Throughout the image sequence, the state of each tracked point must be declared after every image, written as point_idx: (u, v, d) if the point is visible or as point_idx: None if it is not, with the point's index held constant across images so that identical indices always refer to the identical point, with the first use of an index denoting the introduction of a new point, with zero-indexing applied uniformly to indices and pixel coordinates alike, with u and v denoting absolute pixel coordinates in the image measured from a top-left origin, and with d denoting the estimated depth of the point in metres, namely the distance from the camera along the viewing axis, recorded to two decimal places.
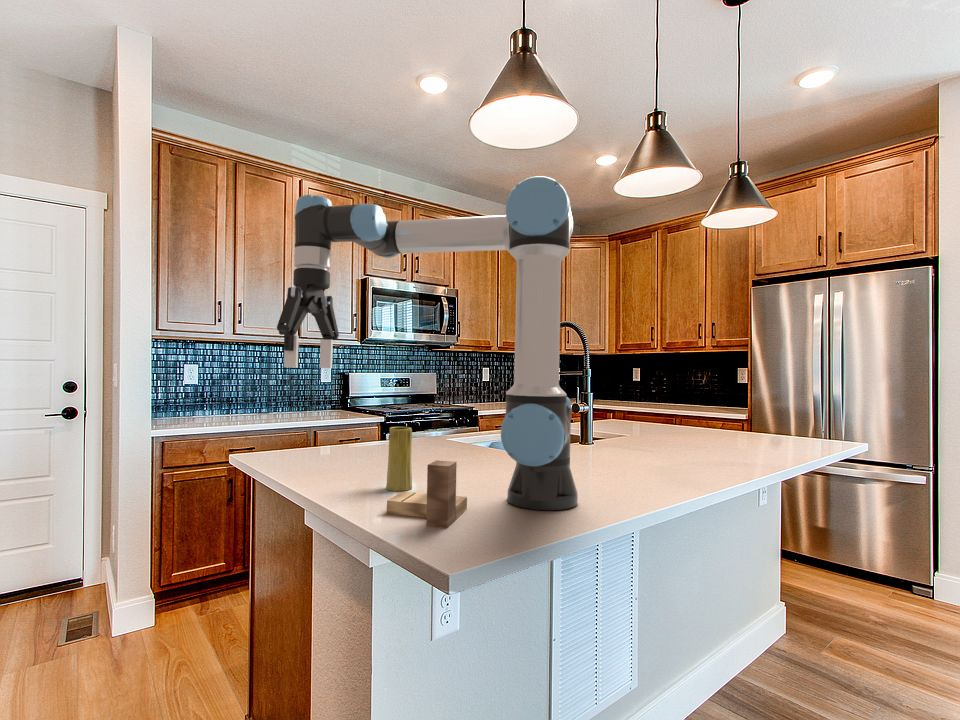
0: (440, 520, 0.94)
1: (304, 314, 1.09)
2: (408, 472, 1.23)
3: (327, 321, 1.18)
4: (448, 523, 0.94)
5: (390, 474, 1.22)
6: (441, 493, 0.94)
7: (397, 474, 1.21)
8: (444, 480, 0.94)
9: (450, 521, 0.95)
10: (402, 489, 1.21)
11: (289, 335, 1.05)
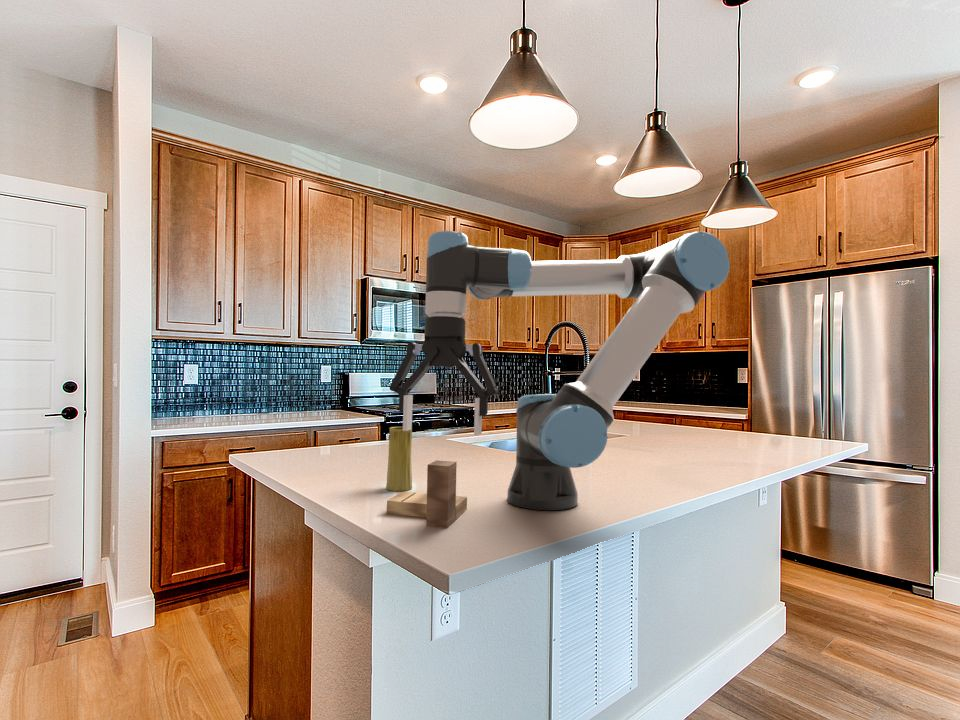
0: (440, 520, 0.94)
1: (419, 371, 0.97)
2: (408, 472, 1.23)
3: (467, 375, 0.95)
4: (448, 523, 0.94)
5: (390, 474, 1.22)
6: (441, 493, 0.94)
7: (397, 474, 1.21)
8: (444, 480, 0.94)
9: (450, 521, 0.95)
10: (402, 489, 1.21)
11: None
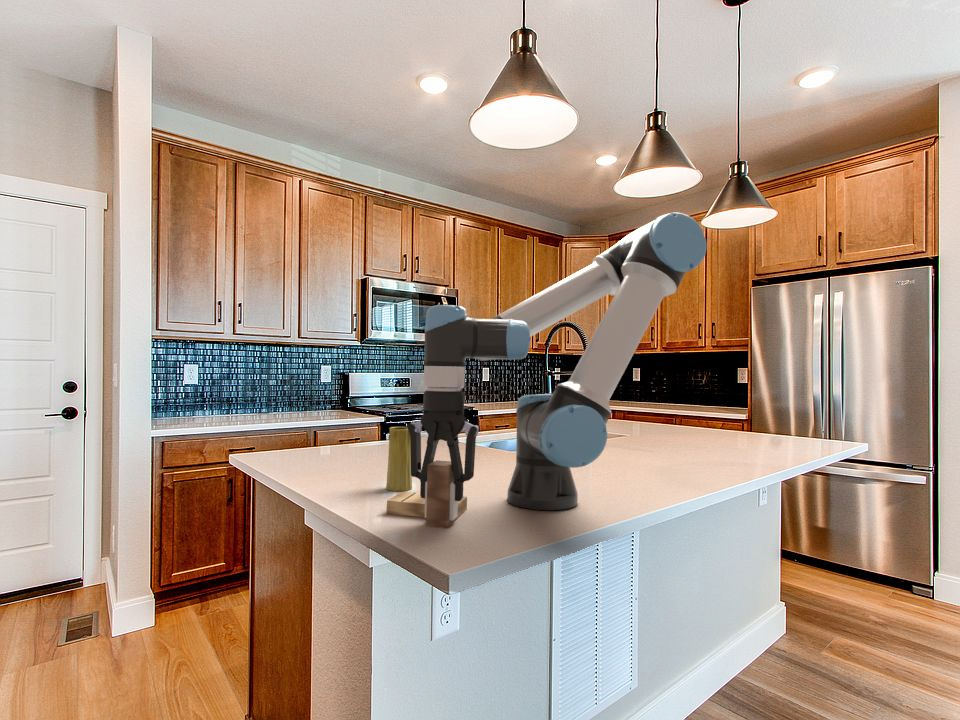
0: (440, 520, 0.94)
1: (429, 450, 0.96)
2: (408, 472, 1.23)
3: (453, 456, 0.95)
4: (448, 523, 0.94)
5: (390, 474, 1.22)
6: (441, 493, 0.94)
7: (397, 474, 1.21)
8: (444, 480, 0.94)
9: (450, 521, 0.95)
10: (402, 489, 1.21)
11: None
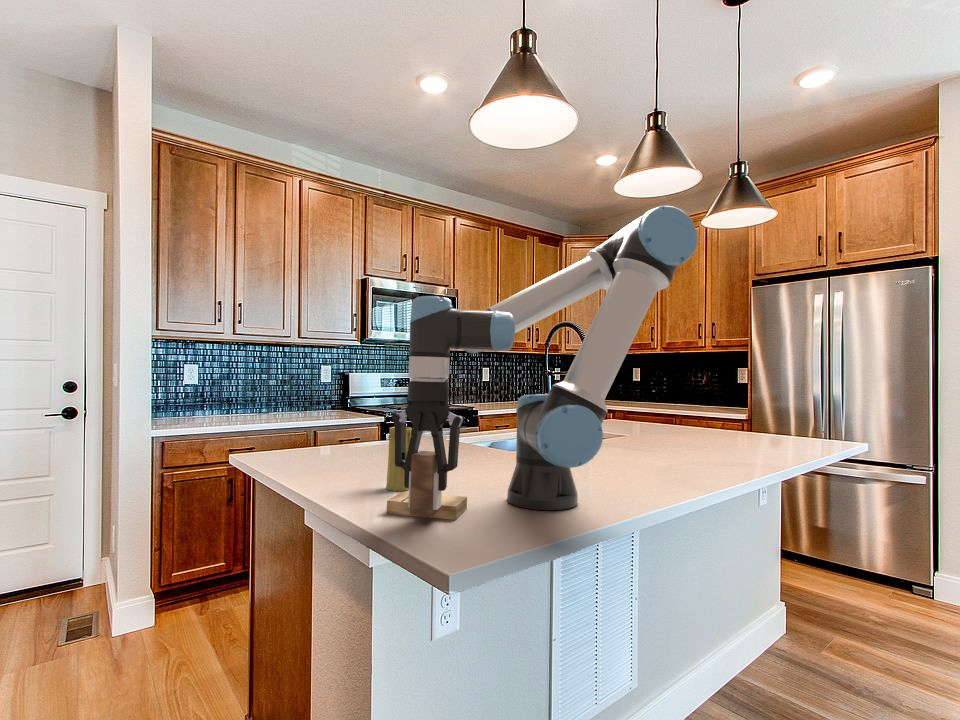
0: (423, 510, 0.95)
1: (413, 440, 0.97)
2: None
3: (436, 446, 0.96)
4: (432, 513, 0.95)
5: (390, 474, 1.22)
6: (425, 483, 0.95)
7: (397, 474, 1.21)
8: (427, 470, 0.95)
9: (433, 511, 0.96)
10: (402, 489, 1.21)
11: None
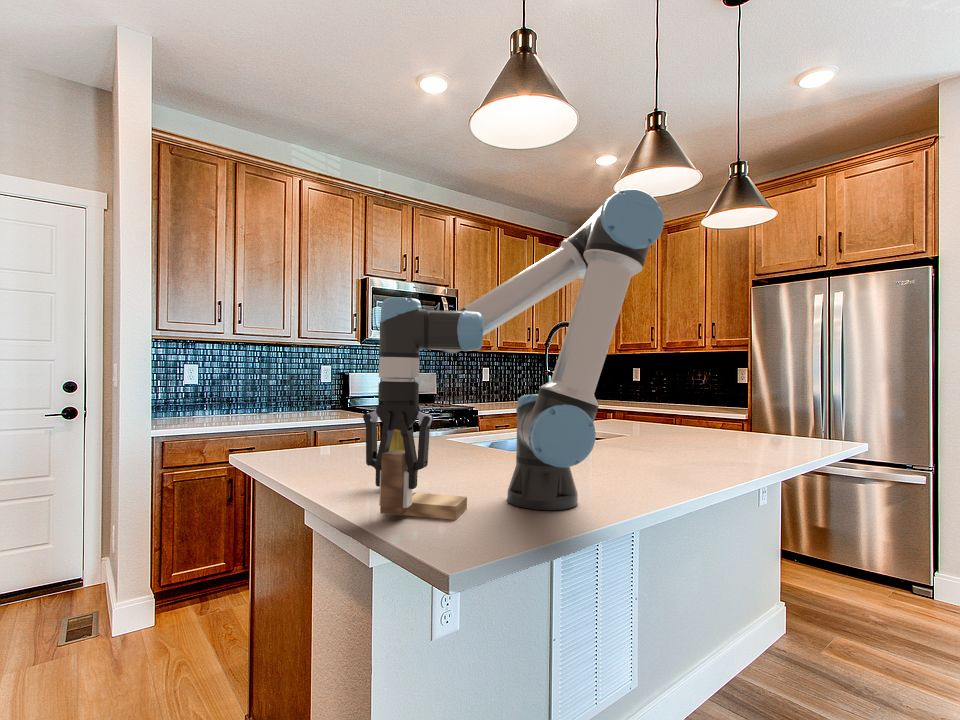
0: (393, 508, 0.96)
1: (384, 440, 0.98)
2: None
3: (406, 445, 0.97)
4: (402, 511, 0.97)
5: None
6: (394, 481, 0.96)
7: None
8: (397, 469, 0.96)
9: (404, 509, 0.98)
10: None
11: None
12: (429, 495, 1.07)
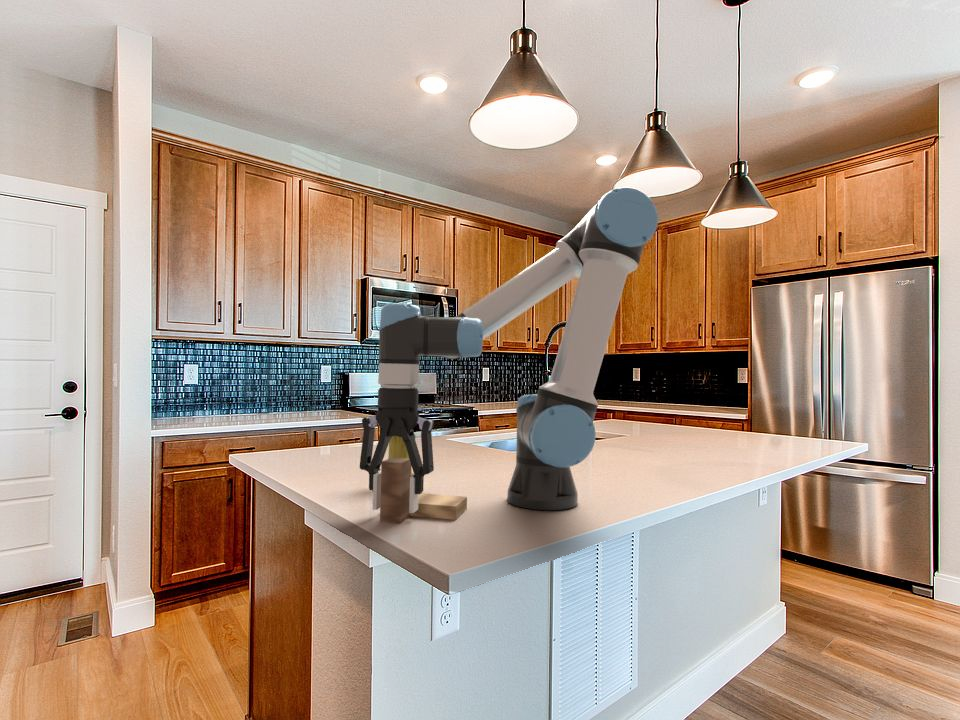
0: (393, 516, 0.96)
1: (380, 445, 0.98)
2: None
3: (410, 451, 0.97)
4: (402, 519, 0.96)
5: None
6: (394, 489, 0.96)
7: None
8: (397, 477, 0.96)
9: (404, 517, 0.97)
10: None
11: None
12: (429, 495, 1.07)
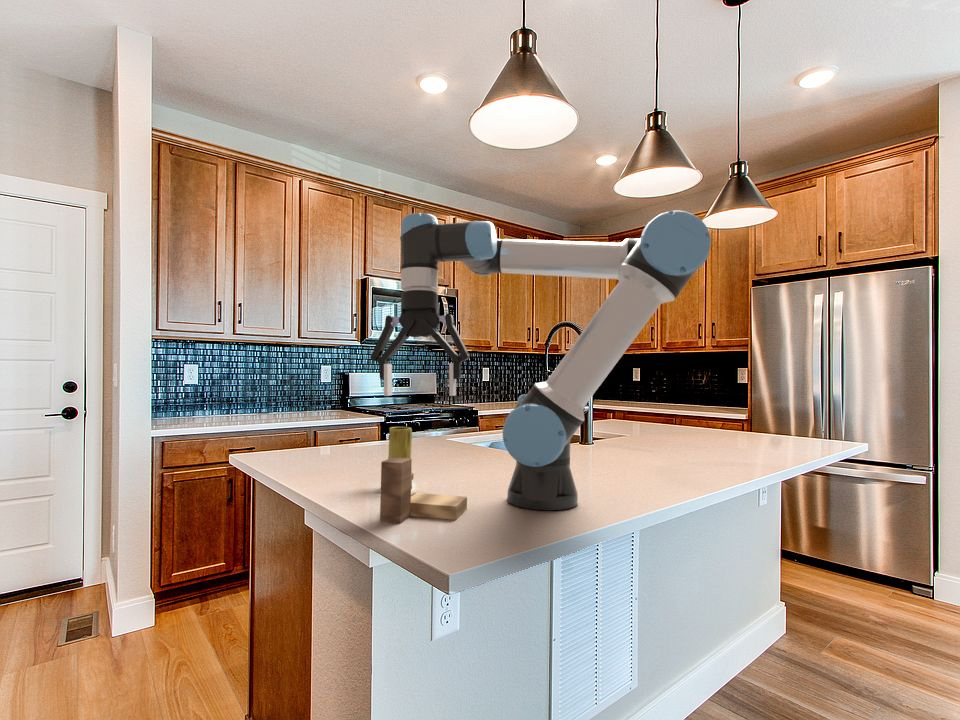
0: (393, 516, 0.96)
1: (397, 341, 1.07)
2: None
3: (441, 343, 1.05)
4: (402, 519, 0.96)
5: None
6: (394, 489, 0.96)
7: None
8: (397, 477, 0.96)
9: (404, 517, 0.97)
10: None
11: None
12: (429, 495, 1.07)
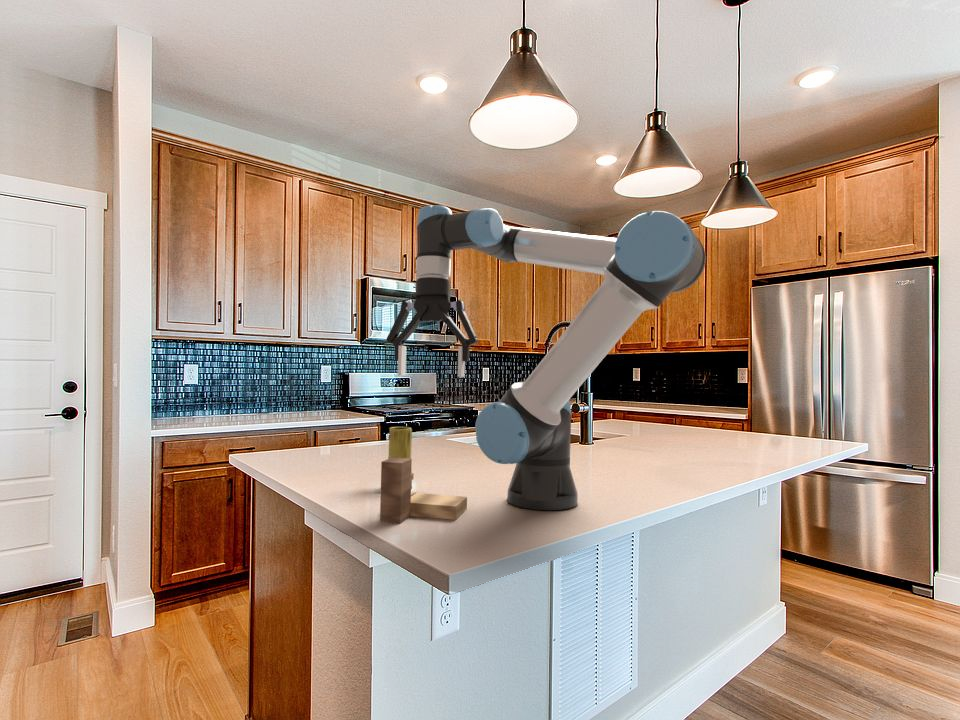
0: (393, 516, 0.96)
1: (411, 325, 1.14)
2: None
3: (452, 327, 1.12)
4: (402, 519, 0.96)
5: None
6: (394, 489, 0.96)
7: None
8: (397, 477, 0.96)
9: (404, 517, 0.97)
10: None
11: None
12: (429, 495, 1.07)
